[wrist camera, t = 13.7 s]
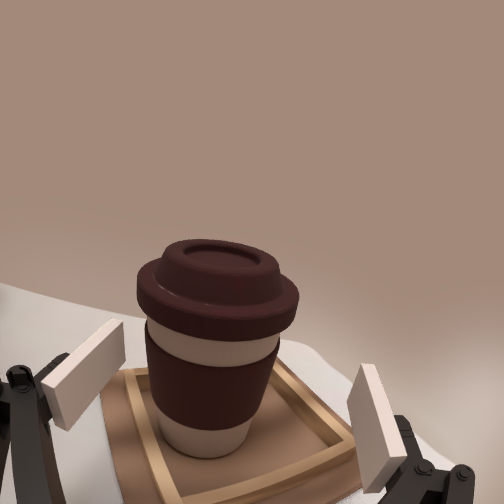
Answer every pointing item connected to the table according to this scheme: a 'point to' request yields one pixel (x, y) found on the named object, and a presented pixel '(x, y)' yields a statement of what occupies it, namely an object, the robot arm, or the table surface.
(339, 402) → the table surface
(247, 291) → the coffee cup
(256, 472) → the cup rack
